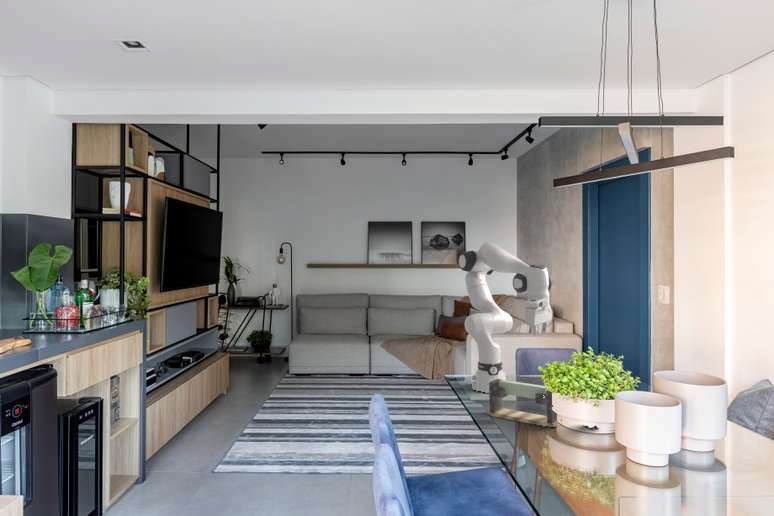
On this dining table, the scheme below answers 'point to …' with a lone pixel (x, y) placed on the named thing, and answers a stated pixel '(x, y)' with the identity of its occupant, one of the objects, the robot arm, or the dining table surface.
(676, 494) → the dining table surface
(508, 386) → the rail
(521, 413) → the rail stand
